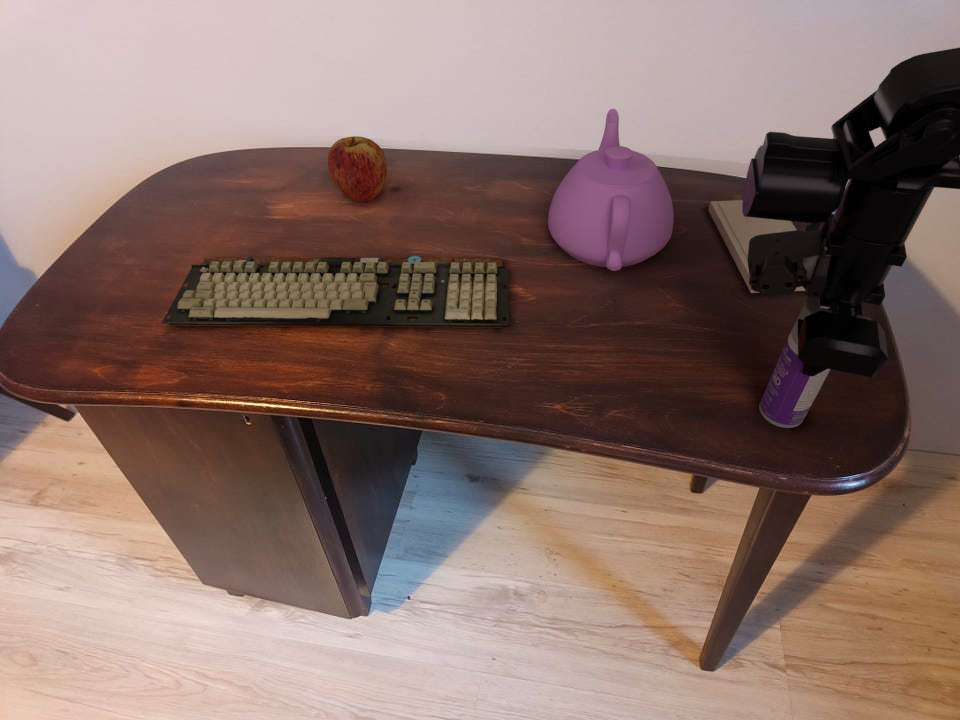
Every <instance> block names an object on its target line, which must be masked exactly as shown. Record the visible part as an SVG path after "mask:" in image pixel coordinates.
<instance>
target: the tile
mask: <svg viewBox="0 0 960 720" xmlns="http://www.w3.org/2000/svg"><path fill="white" fill-rule="evenodd" d="M742 203H743V199H737V200H736V199H735V200H734V199H733V200H712V201H710V202H709V206H708V213H709V215H710V217H711V219H712V220H713V223H714V224H715V226H716V228H717V230H718V232H719V234H720V236H721V238H722V240H723V242H724V244H725V246H726V248H727V250H728V252H729V253H730V255H731V257H732V260H733V262H734V263H735V265H736V267H737V270H738V272H739V273H740V275H741V277H742V279H743V280H744V283H745V284H746V286H747V288H748V291H749V293H750V294H761V293H760V292H756V291H754V290H752V289H751V285H750V284H749V268H748V261H747V258H748V249H749V241H750V239H751V238H753V237H755V236H757V235H762V234H770V233H778V232H787V231H795V230H798V229H797V228H796V227H795V225H794V223H793V221H784V220H774V219H763V218H753V217H744V216H743V212H742ZM794 292H806V290H805V289H804V287H803V286H802V287H797V288H796V290H795V291H794Z"/></svg>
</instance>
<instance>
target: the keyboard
mask: <svg viewBox="0 0 960 720" xmlns="http://www.w3.org/2000/svg"><path fill="white" fill-rule="evenodd" d="M503 261H504V260H503V259H493V258H465V257H464V258H462V257H461V258H459V257H458V258H456V257H455V258H454V257H450V258H449V257H447V258H446V257H444V258H443V257H420V256H419V255H411V256H410V257H404V258H396V257H325V256H324V257H323V256H322V257H309V258H302V257H291V256H290V257H287V256H286V257H284V256H279V257H278V256H277V257H275V256H274V257H273V256H272V257H269V256H267V257H265V256H264V257H261V256H259V257H258V256H257V257H255V256H254V257H253V256H249V257H248V258H243V257H241V256H227V257H225V256H222V257H221V256H219V257H216V256H215V257H214V258H209V257H208V258H204V259H203V260H202V262H201V264H191V265H190V266H191V267H190V269H189V271H188V274H187V275H186V277H185V279H184V281H183V283H182V285H181V286H180V288H179V290H178V292H177V294H176V296H175V298H174V299H173V302H172V303H171V304H170V306H169V308H168V310H167V312H166V314H165V316H164V318H163V319H162V321H161V324H169V326H172V327H176V326H177V327H178V326H179V327H180V326H181V327H183V326H184V327H185V326H190V327H192V326H193V327H197V326H200V327H203V326H205V327H209V326H211V327H290V328H291V327H292V328H293V327H297V328H299V327H303V328H304V327H305V328H307V327H309V328H310V327H313V328H314V327H317V328H319V327H320V328H334V327H336V328H461V329H462V328H469V329H470V328H471V329H472V328H473V329H475V328H476V329H477V328H479V329H485V328H486V329H501V328H503V326H510V289H511V286H510V279H509V278H510V277H509V275H510V273H509V268H505V266H504V265H503V264H504V263H503ZM186 284H187V286H186ZM394 285H395V286H396V287H394ZM504 286H506V288H504ZM169 315H170V318H167V317H168V316H169ZM388 317H389V318H390V319H387V318H388ZM504 317H505V319H506V320H504Z"/></svg>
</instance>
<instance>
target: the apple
mask: <svg viewBox="0 0 960 720" xmlns="http://www.w3.org/2000/svg"><path fill="white" fill-rule="evenodd" d="M327 169H328V173H329V176H330V179H331V181H332V182H333V185H334V186H335V187H336V188H337V189H338V190H339V191H340V192H341V193H342V194H343V195H344V196H345V197H347V198H348V199H350V200H352V201H355V202H359V203H365V202H370V201H373V200H374V199H376V198H377V197H378V196H380V193H381V192H382V190H383V188H384V185H385V182H386V178H387V174H388V164H387V160H386V156H385V153H384V150H383V149H382V148H381V145H380V144H378V143H376V142H375V141H374V140H372V139H370V138H367V137H364V136H358V135H357V136H356V135H355V136H347V137H343V138H339V139H337V141H335V142H334V143H333V144H332V145H331V146H330V149H329V151H328V154H327Z"/></svg>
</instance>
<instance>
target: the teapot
mask: <svg viewBox="0 0 960 720" xmlns="http://www.w3.org/2000/svg"><path fill="white" fill-rule="evenodd" d="M619 124H620V117H619V112H618V110H617V109H616V108H610V109H609V110H608V112H607V114H606V118H605V125H604V131H603V134H602V138H601V141H600V145H599V147H598V149H597V150H593V151H591V152H588V153H587V154H585V155H583V156H582V157H581V158H580V159H579V160H578V161H577V162H576V163H575V164H574V165H573V166H572V167H571V169H570V170H569V171H568V172H567V173H566V175H565V176H564V178H563V179H562V180H561V182H560V183H559V185H558V187H557V189H556V191H555V193H554V195H553V197H552V200H551V203H550V207H549V210H548V216H547V217H548V218H547V225H548V226H547V227H548V230H549V232H550V235H551V237H552V239H553V240H554V241H555V243H556V244H557V245H558V246H559V247H560V248H561V249H562V250H563V251H564V252H565V253H566V254H567V255H569V256H571V257H572V258H573V259H575V260H577V261H579V262H582V263H584V264H587V265H591V266H595V267H602V268H606V269H607V270H609V271H612V272H617V271H620V270H621V269H622V268H624V267H630V266H634V265H637V264H640V263H642V262H644V261H645V260H648V259H650V258H651V257H653V256H654V255H656V254H658V253H659V252H660V251H661V250H663V248H665V247H666V246H667V244H668V242H669V241H670V240H671V237H672V235H673V230H674V222H675V221H674V219H675V218H674V217H675V216H674V215H675V214H674V206H673V200H672V197H671V193H670V191H669V188H668V185H667V183H666V181H665V179H664V177H663V175H662V173H661V171H660V169H659V168H658V166H657V165H656V163H655V162H654V161H653V160H652V159H651V158H650V157H648V156H647V155H646V154H643V153H641V152H639V151H635V150H632V149H631V148H629V147H627V146H623V145H620V144H621V143H620V133H619V132H620V131H619V126H620V125H619Z"/></svg>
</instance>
